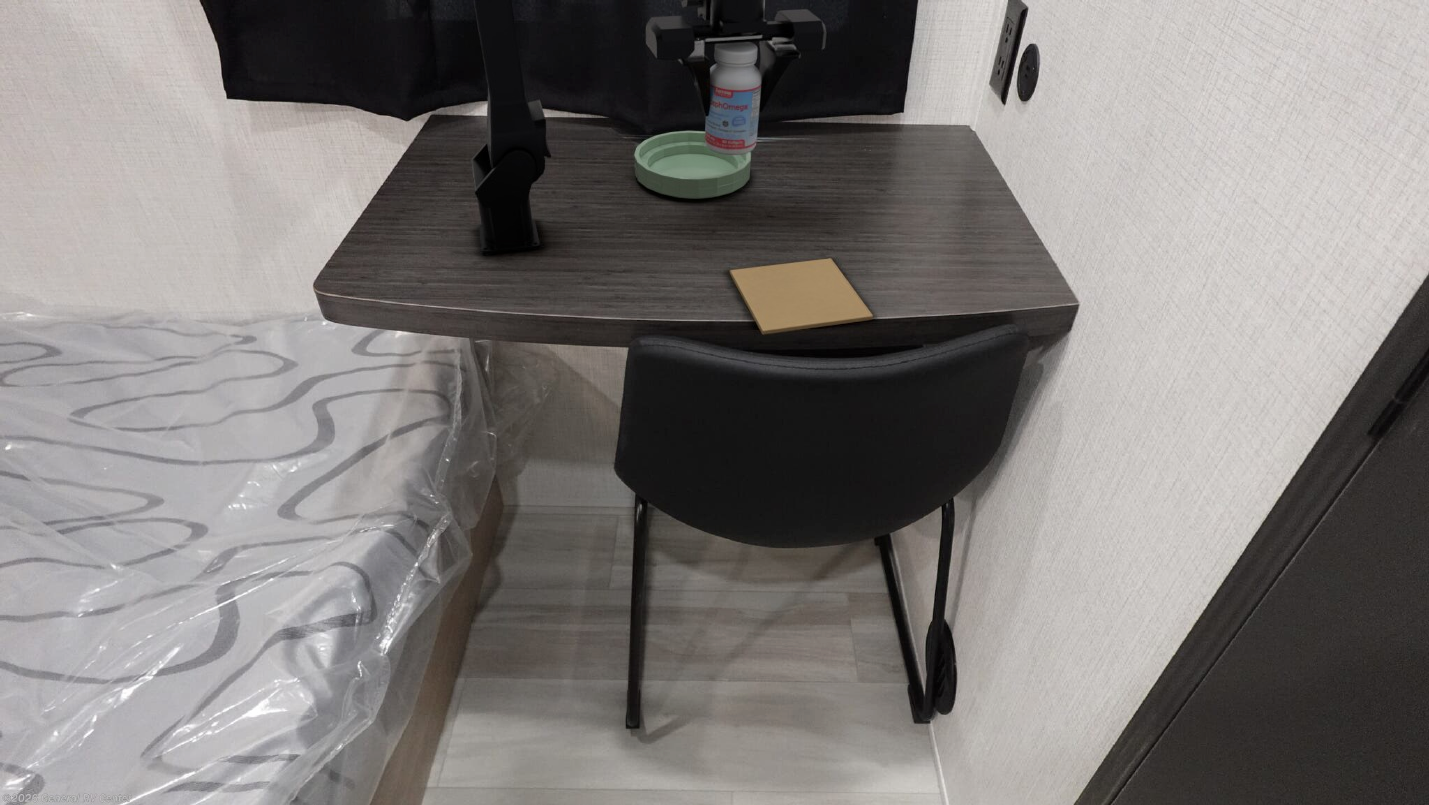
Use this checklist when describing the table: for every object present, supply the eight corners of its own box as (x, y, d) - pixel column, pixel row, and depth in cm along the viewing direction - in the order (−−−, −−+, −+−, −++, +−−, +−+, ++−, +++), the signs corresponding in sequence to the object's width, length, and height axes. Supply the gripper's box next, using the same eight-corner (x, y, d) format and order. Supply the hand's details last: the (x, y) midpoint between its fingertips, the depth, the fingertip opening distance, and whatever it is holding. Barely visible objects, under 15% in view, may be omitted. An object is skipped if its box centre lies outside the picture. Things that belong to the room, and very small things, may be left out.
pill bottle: (697, 151, 96) (699, 49, 89) (715, 132, 100) (719, 34, 93) (747, 160, 94) (753, 58, 87) (763, 141, 99) (770, 41, 92)
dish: (764, 196, 108) (765, 172, 106) (648, 207, 104) (647, 183, 102) (731, 148, 119) (732, 126, 117) (626, 157, 116) (625, 135, 114)
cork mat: (872, 319, 87) (873, 315, 86) (762, 334, 84) (762, 330, 84) (830, 261, 95) (831, 257, 95) (729, 273, 93) (729, 269, 93)
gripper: (797, -59, 93) (785, 83, 103) (632, -54, 89) (637, 93, 99) (836, -35, 85) (819, 116, 95) (656, -28, 81) (659, 130, 91)
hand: (732, 112), depth 95 cm, fingers closed on pill bottle, 6 cm apart
